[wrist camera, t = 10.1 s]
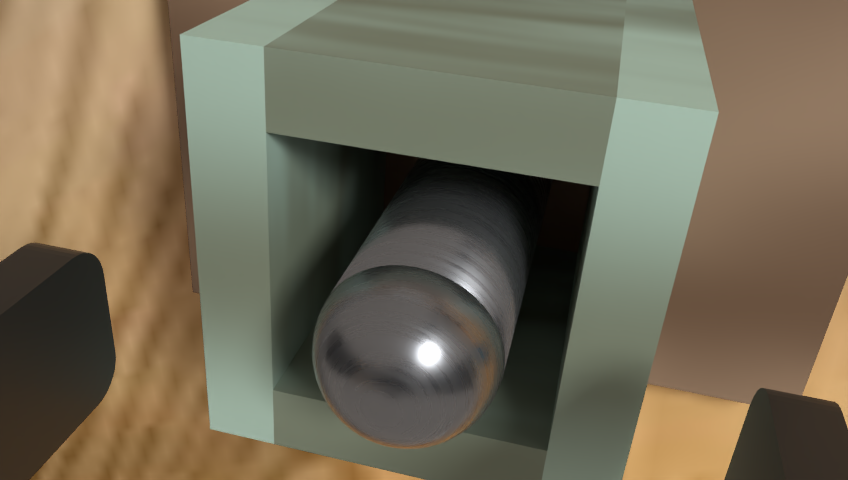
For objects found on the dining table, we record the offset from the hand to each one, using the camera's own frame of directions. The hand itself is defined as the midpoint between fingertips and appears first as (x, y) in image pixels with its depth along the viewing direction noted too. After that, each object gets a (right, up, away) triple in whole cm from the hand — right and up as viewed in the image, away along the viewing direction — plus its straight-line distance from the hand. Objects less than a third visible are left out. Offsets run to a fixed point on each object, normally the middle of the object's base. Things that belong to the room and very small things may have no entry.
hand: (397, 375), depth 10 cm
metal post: (+2, +3, +6) cm, 8 cm away
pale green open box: (+2, +3, +6) cm, 8 cm away
